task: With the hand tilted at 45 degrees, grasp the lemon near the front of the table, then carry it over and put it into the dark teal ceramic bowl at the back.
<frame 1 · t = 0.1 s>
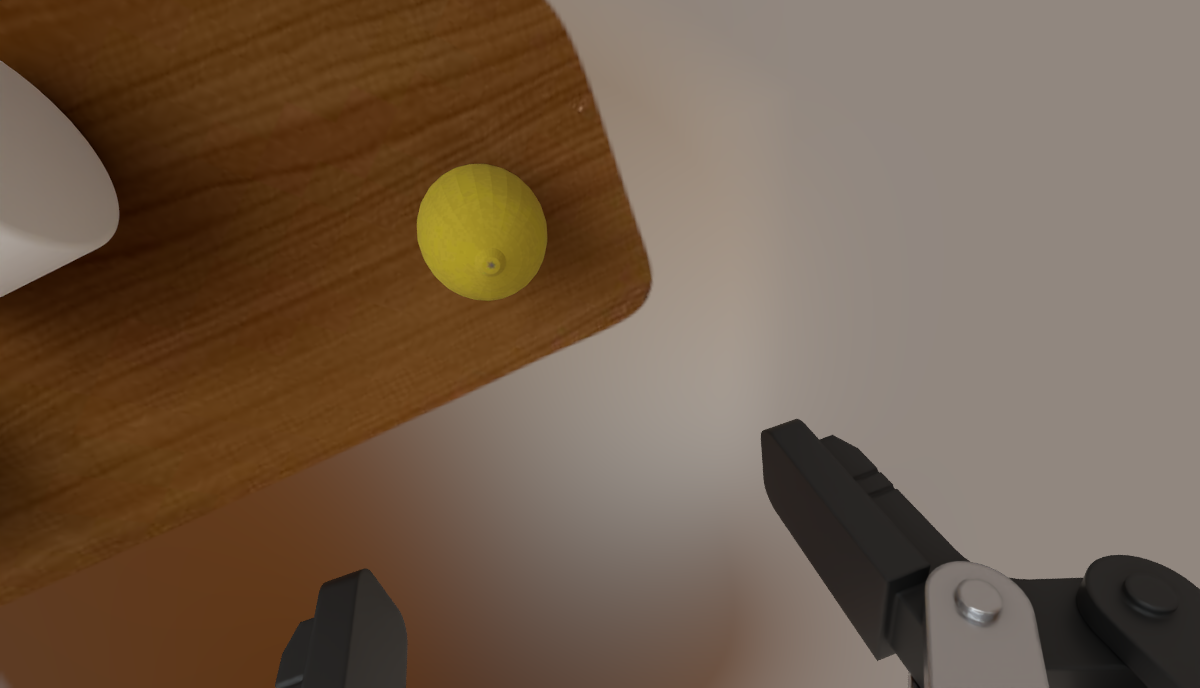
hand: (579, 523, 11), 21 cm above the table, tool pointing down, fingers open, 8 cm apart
lemon: (476, 203, 28), on the table
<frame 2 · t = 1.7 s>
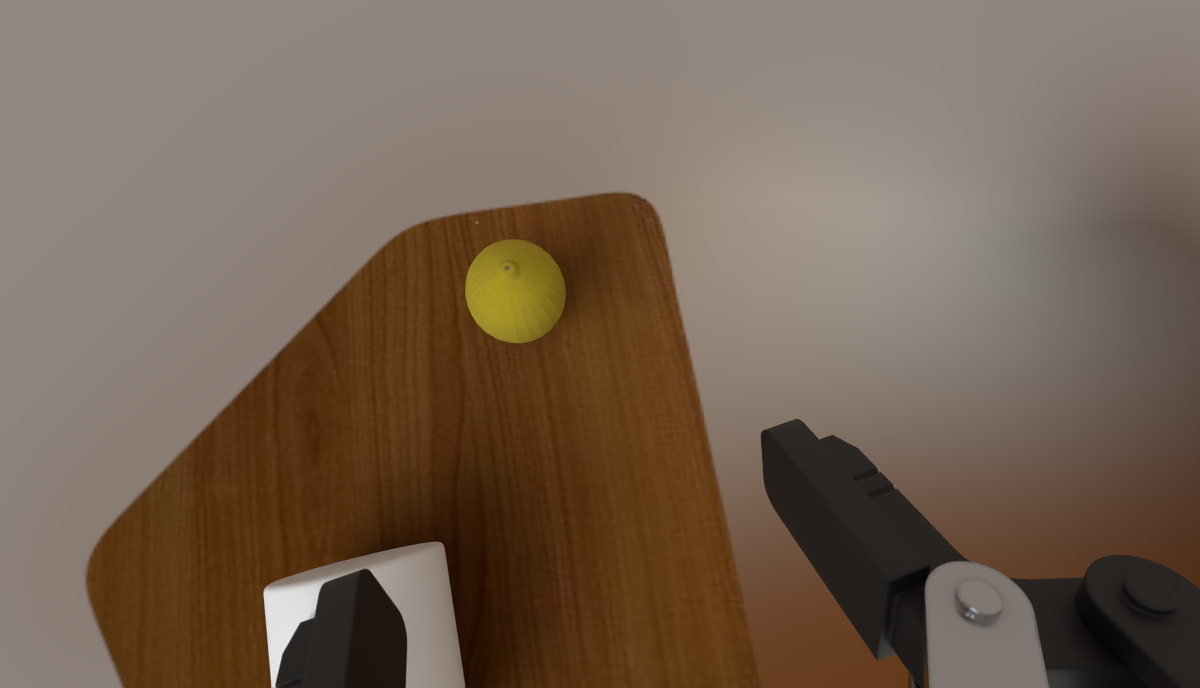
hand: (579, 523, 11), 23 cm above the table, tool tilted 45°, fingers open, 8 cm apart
mug: (399, 644, 31), on the table
lemon: (523, 313, 36), on the table
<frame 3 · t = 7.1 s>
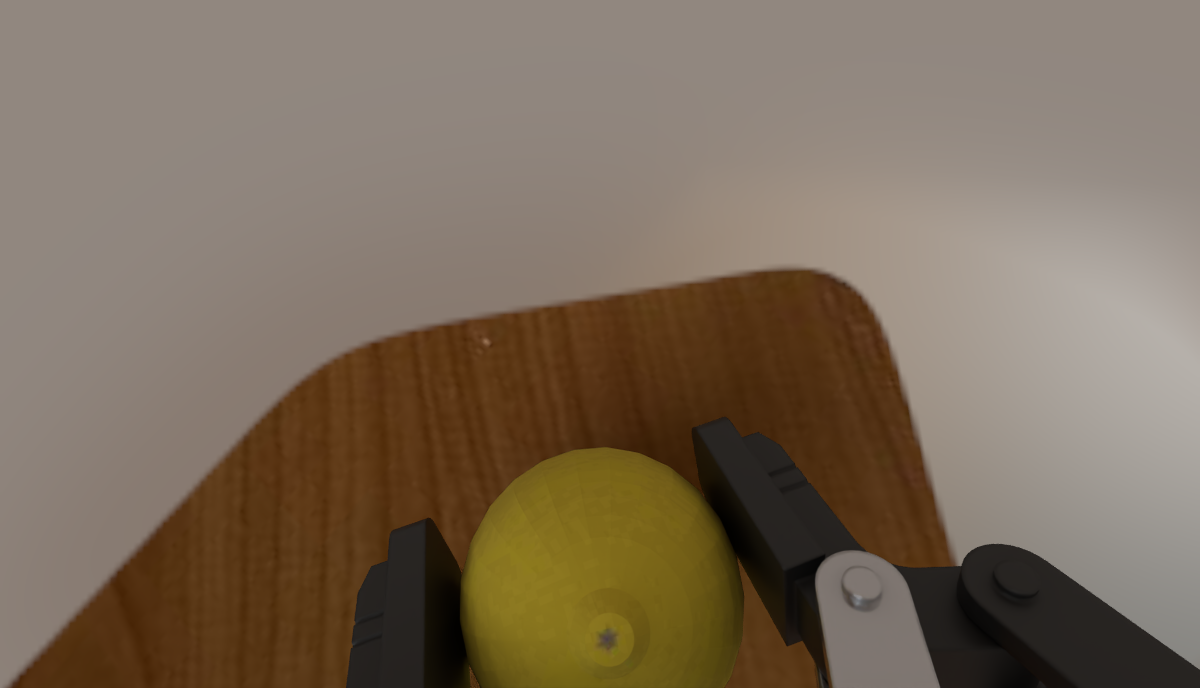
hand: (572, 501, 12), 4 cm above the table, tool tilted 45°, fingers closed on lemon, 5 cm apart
lemon: (595, 555, 16), on the table, touching gripper
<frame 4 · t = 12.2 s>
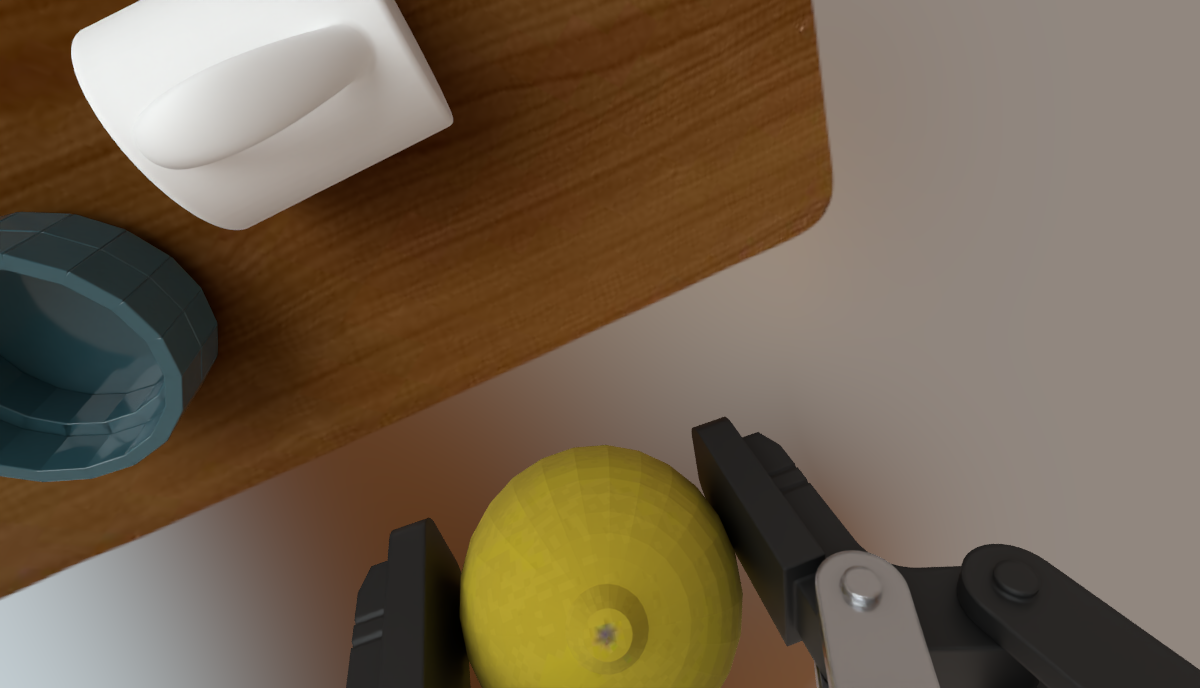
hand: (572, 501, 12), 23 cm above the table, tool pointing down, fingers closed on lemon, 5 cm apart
mug: (307, 71, 26), on the table
lemon: (595, 553, 16), point 21 cm above the table, touching gripper
bowl: (93, 316, 29), on the table
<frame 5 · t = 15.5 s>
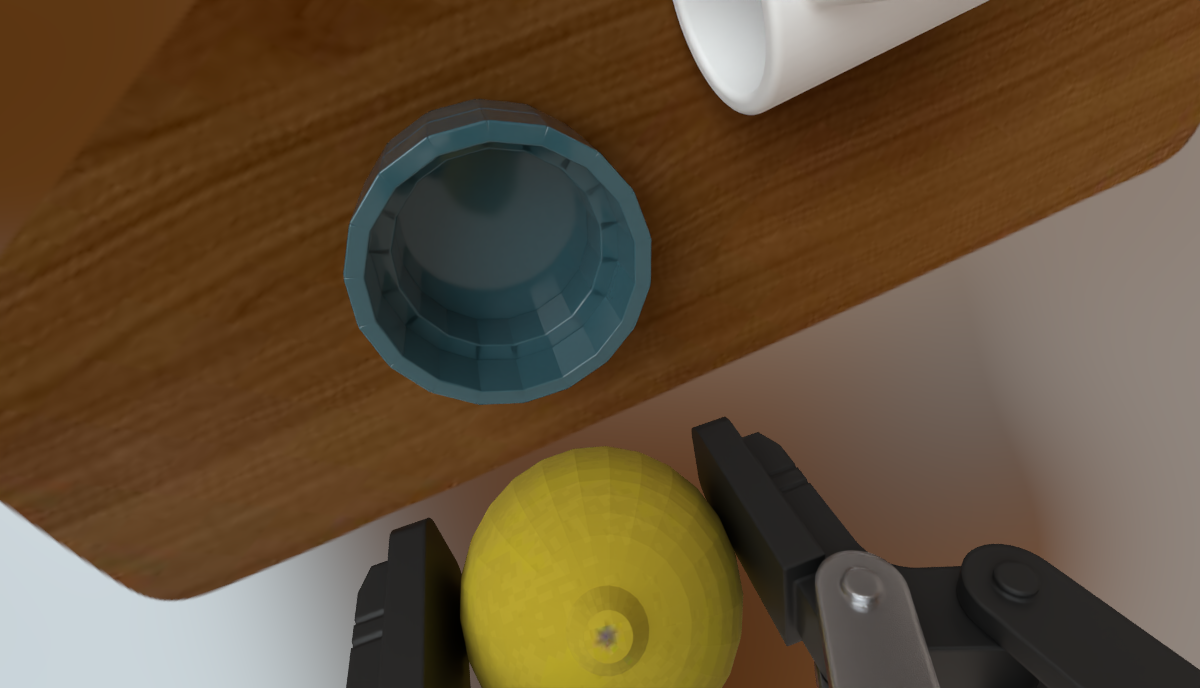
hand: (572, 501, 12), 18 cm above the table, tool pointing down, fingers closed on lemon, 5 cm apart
lemon: (595, 554, 16), point 16 cm above the table, touching gripper
bowl: (494, 229, 26), on the table
when the fingers open (7 cm above the table, at t = 18.5 s): lemon drops 1 cm, resting on bowl.
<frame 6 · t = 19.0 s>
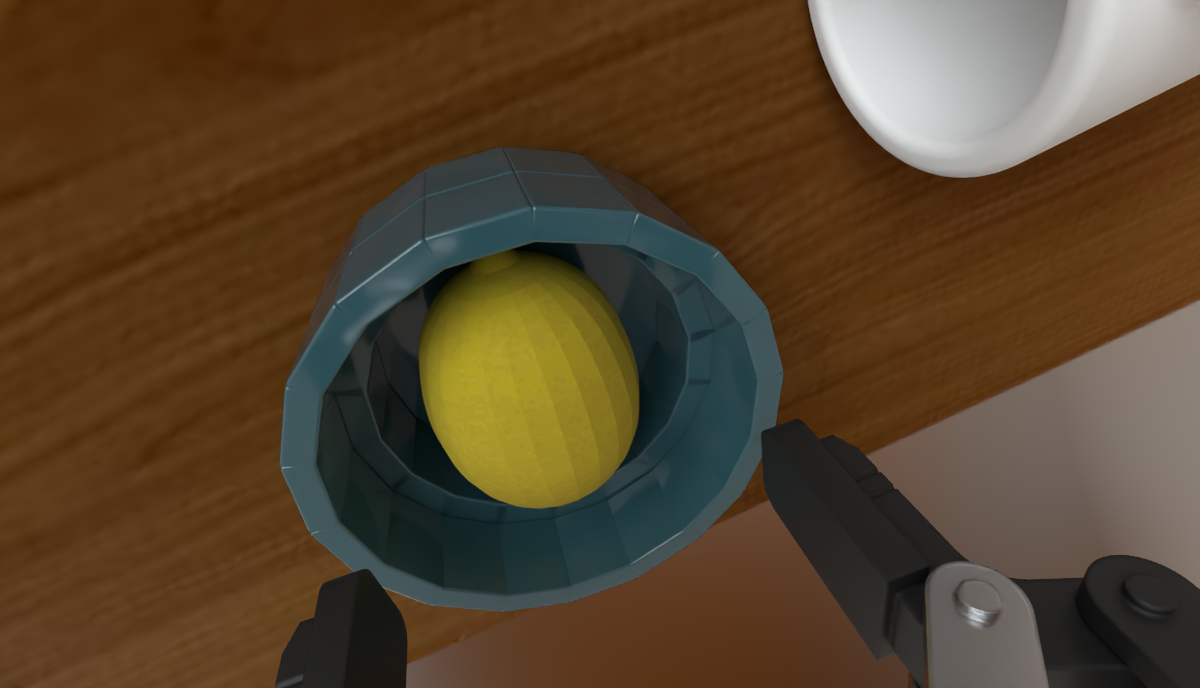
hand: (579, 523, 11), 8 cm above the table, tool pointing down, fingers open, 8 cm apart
lemon: (568, 495, 17), point 4 cm above the table, touching bowl
bowl: (522, 327, 18), on the table
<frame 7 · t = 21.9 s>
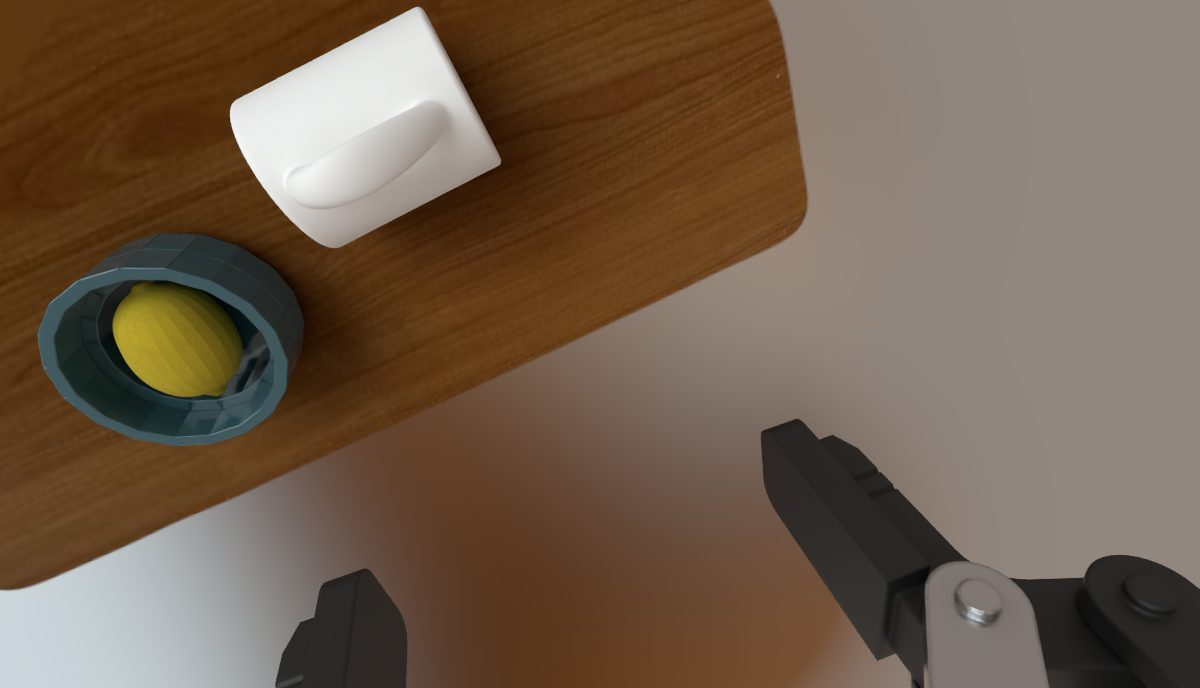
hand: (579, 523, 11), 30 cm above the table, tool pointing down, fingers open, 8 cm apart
mug: (383, 120, 33), on the table
lemon: (222, 396, 35), point 4 cm above the table, touching bowl
bowl: (207, 315, 36), on the table
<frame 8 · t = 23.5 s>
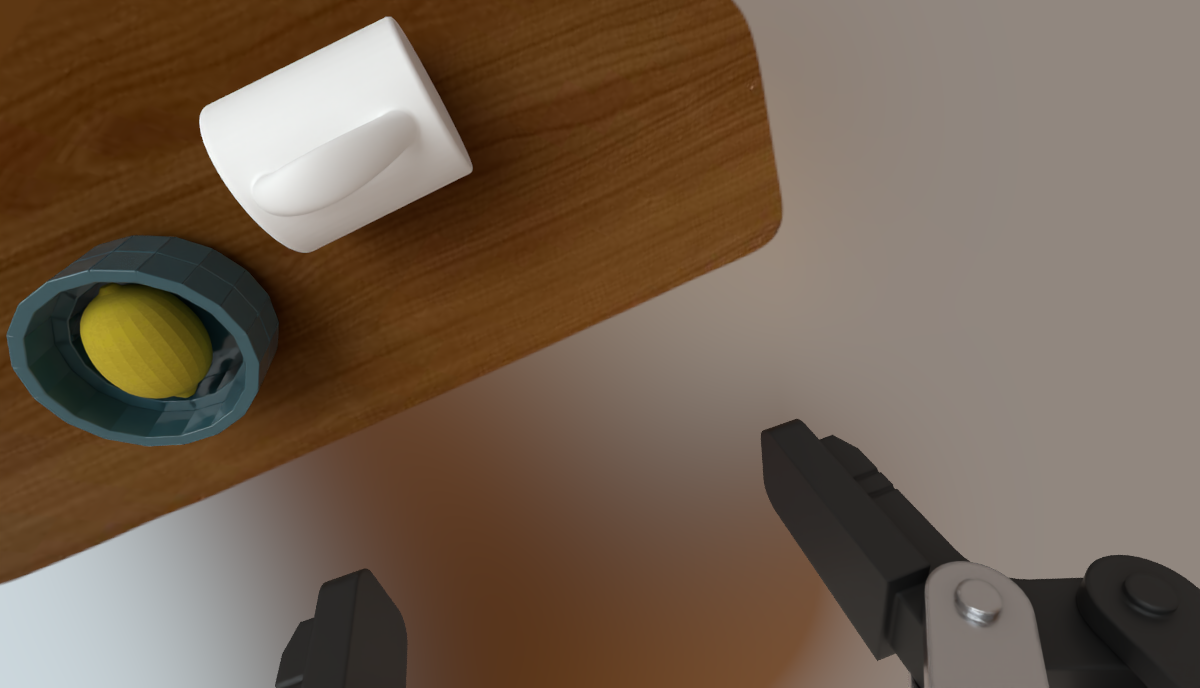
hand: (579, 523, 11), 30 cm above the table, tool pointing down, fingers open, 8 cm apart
mug: (357, 126, 34), on the table
lemon: (192, 398, 36), point 4 cm above the table, touching bowl
bowl: (181, 316, 36), on the table
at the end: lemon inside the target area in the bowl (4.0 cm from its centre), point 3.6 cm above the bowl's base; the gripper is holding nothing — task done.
